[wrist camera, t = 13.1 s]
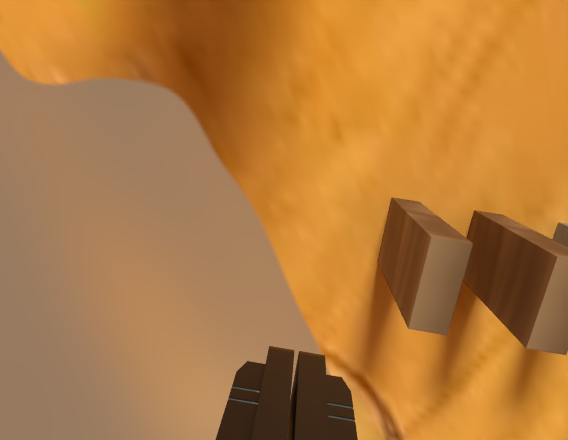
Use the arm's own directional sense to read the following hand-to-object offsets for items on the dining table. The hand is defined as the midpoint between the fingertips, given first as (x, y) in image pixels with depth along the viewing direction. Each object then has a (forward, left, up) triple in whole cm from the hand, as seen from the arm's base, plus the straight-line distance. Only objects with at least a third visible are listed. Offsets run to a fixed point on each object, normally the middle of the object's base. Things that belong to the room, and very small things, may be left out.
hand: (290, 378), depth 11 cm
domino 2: (+13, 0, -19) cm, 23 cm away
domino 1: (+7, 0, -19) cm, 20 cm away
